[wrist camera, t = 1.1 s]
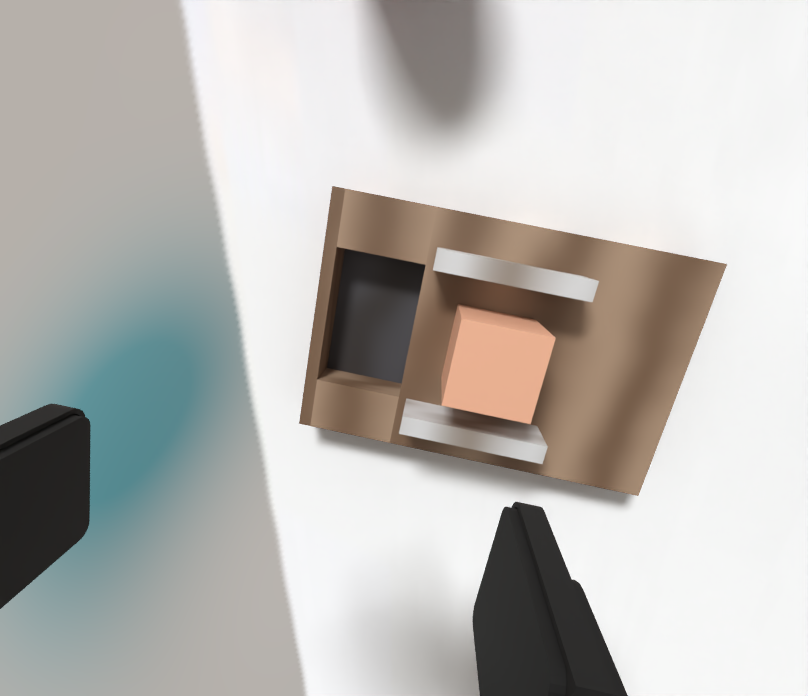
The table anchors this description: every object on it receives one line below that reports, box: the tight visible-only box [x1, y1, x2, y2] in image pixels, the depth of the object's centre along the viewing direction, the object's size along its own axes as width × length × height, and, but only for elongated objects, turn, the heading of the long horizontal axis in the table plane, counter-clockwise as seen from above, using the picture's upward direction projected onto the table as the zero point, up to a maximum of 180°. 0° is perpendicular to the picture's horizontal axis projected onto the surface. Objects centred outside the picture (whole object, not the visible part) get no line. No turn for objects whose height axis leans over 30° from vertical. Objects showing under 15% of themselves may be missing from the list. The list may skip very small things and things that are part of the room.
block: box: [441, 304, 556, 424], centre depth 26 cm, size 5×5×5 cm
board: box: [299, 186, 727, 496], centre depth 29 cm, size 24×16×6 cm, turn 79°
